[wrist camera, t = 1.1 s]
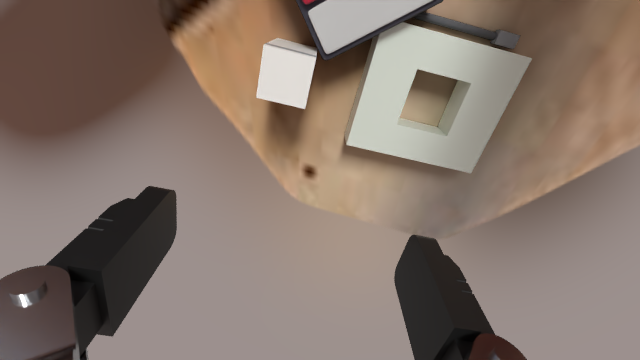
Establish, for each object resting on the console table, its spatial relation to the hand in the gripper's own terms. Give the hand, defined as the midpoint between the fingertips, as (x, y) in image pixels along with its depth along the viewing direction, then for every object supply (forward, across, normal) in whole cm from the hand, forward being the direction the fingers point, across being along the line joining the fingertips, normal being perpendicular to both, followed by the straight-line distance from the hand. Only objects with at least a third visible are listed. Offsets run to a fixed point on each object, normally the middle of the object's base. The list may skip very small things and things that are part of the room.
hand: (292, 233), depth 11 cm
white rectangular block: (+24, +2, -2) cm, 25 cm away
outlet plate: (+24, -12, -1) cm, 27 cm away
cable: (+24, -11, -8) cm, 28 cm away
